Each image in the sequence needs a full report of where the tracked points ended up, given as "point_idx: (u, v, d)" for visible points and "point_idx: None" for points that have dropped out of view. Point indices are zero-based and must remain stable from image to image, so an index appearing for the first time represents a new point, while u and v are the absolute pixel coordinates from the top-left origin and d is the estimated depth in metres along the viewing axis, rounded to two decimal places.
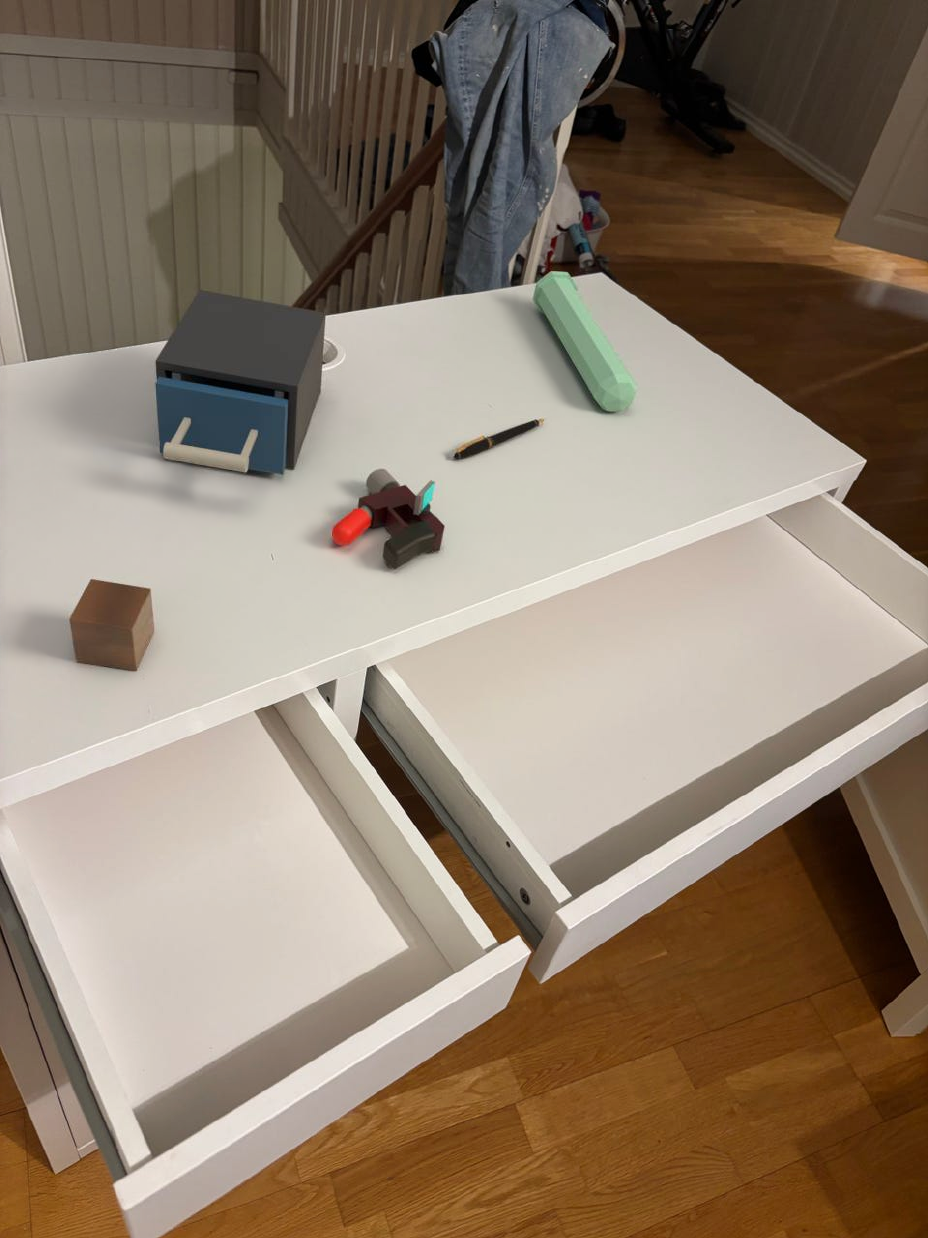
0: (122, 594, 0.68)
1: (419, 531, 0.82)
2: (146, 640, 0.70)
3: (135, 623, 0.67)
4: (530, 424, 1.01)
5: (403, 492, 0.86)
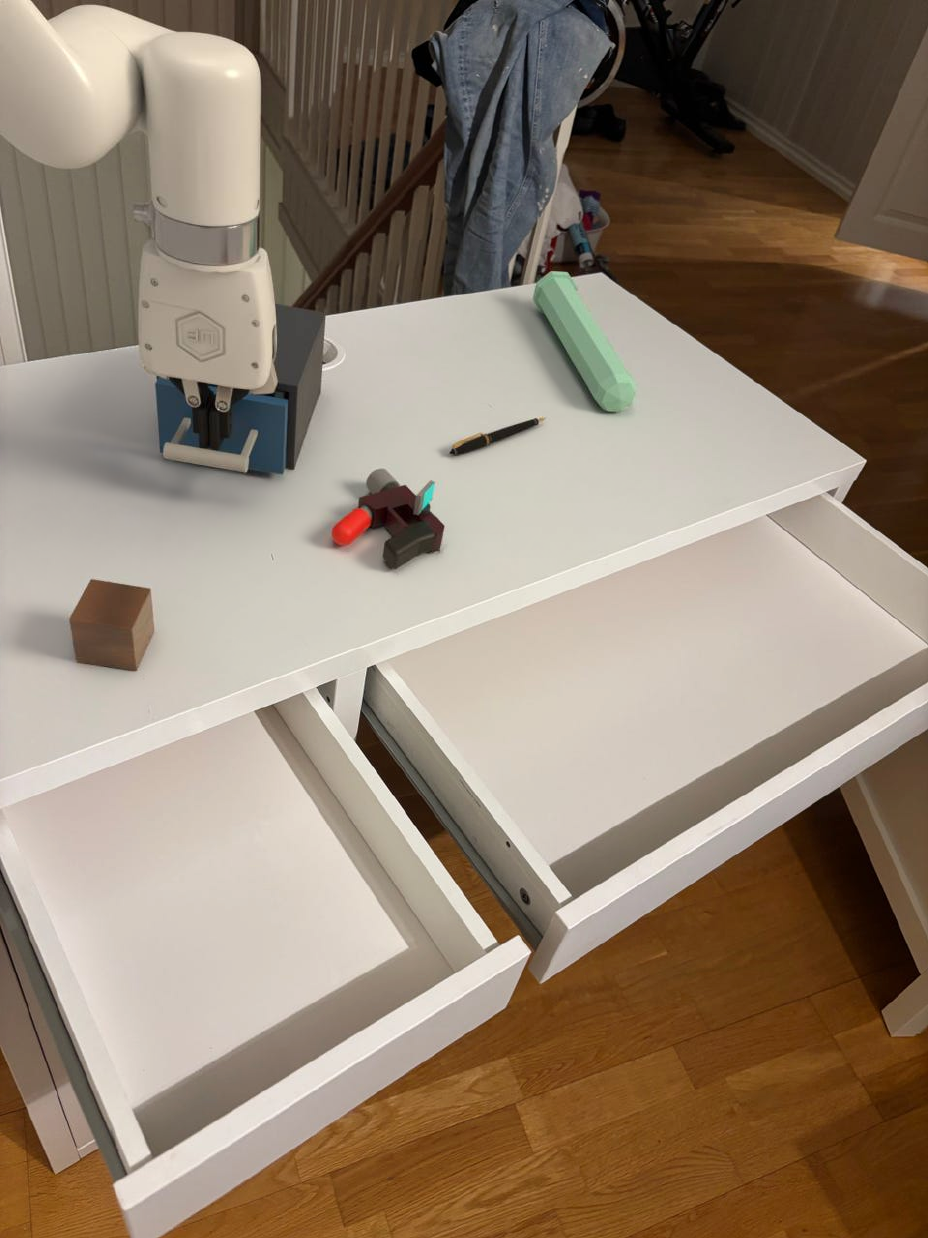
0: (122, 594, 0.68)
1: (419, 531, 0.82)
2: (146, 640, 0.70)
3: (135, 623, 0.67)
4: (530, 422, 1.01)
5: (403, 492, 0.86)
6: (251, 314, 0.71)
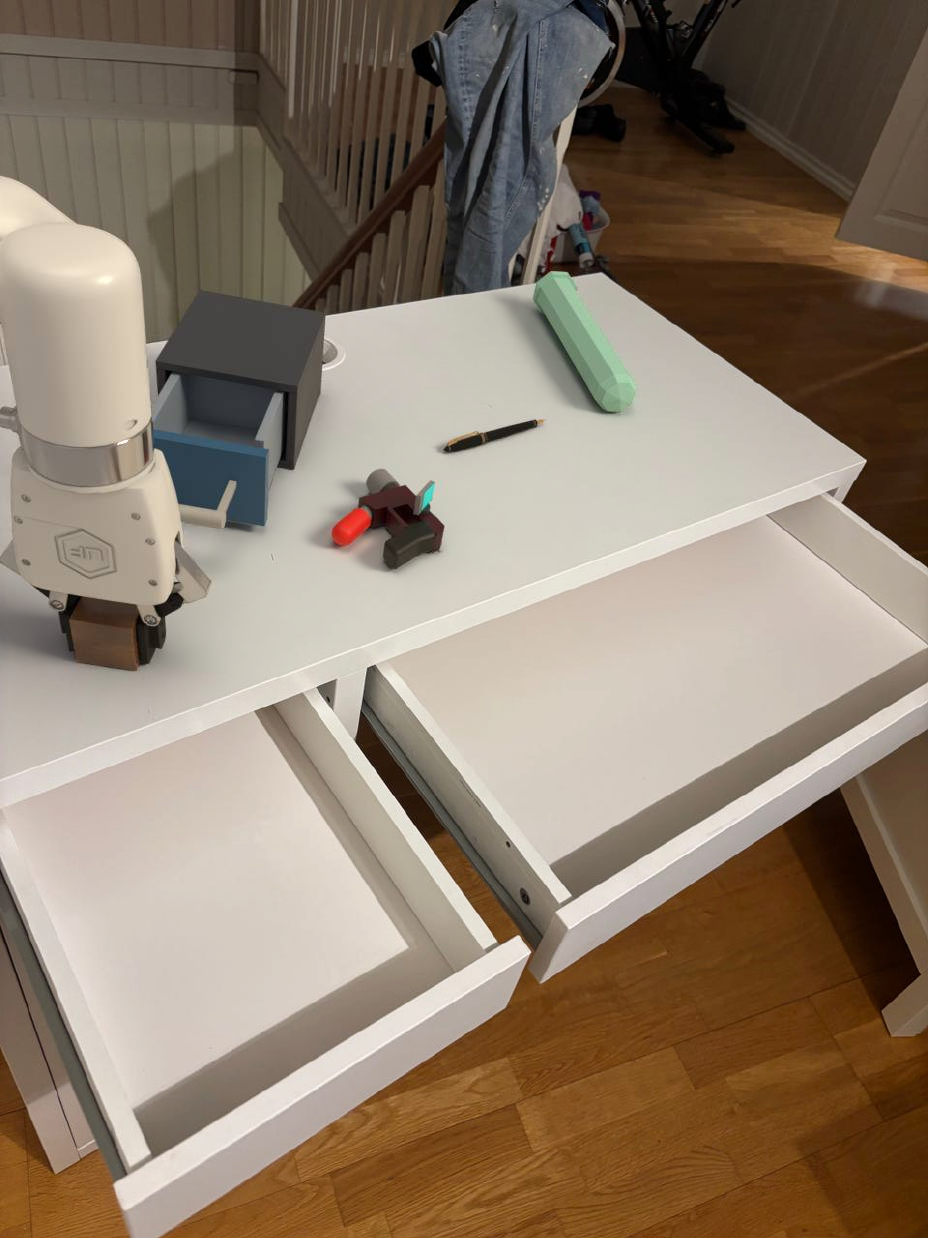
0: None
1: (419, 531, 0.82)
2: None
3: (135, 623, 0.67)
4: (528, 423, 1.01)
5: (403, 492, 0.86)
6: (144, 532, 0.59)
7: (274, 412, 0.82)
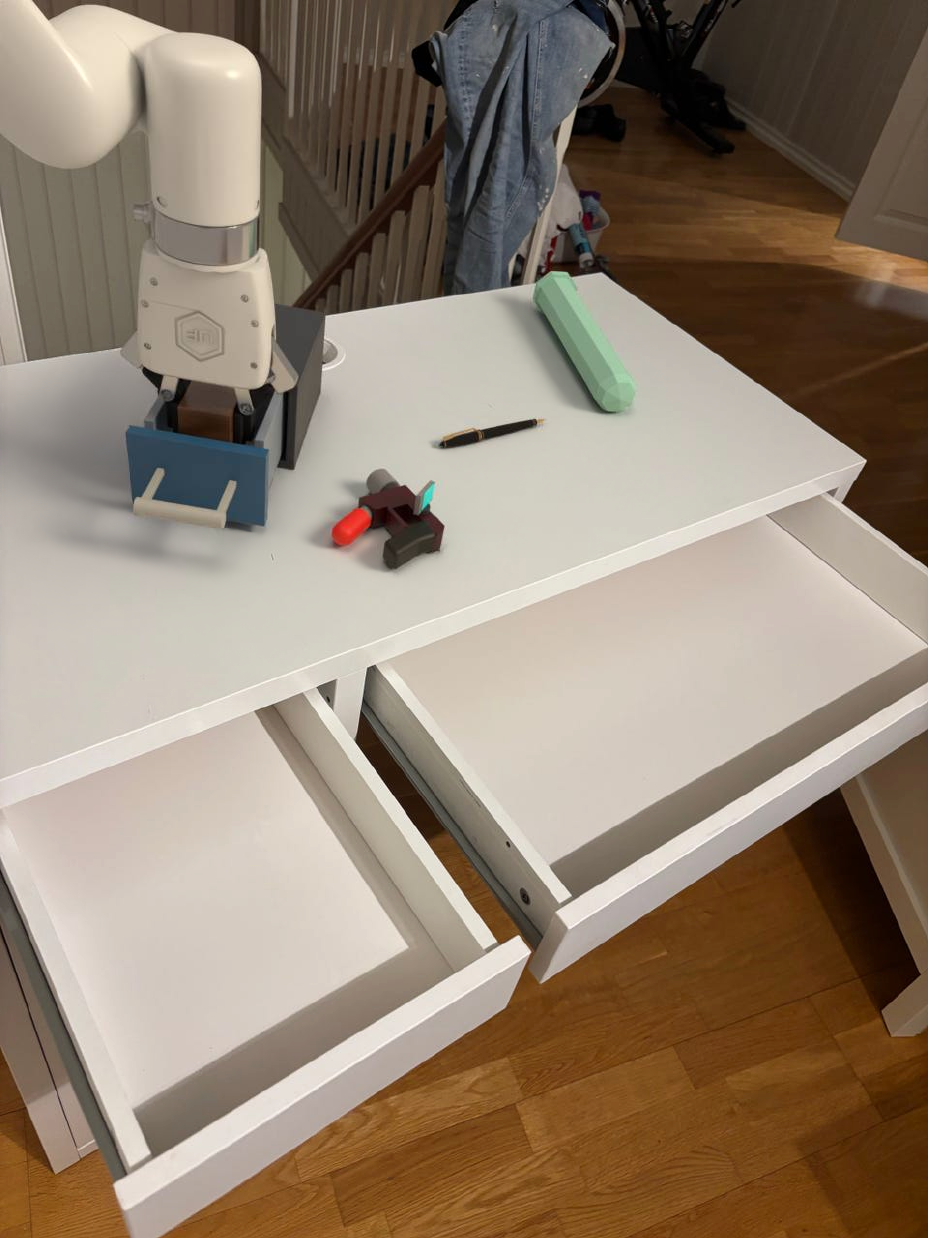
0: (219, 391, 0.80)
1: (419, 531, 0.82)
2: None
3: (233, 412, 0.78)
4: (527, 422, 1.01)
5: (403, 492, 0.86)
6: (250, 314, 0.71)
7: (274, 412, 0.82)
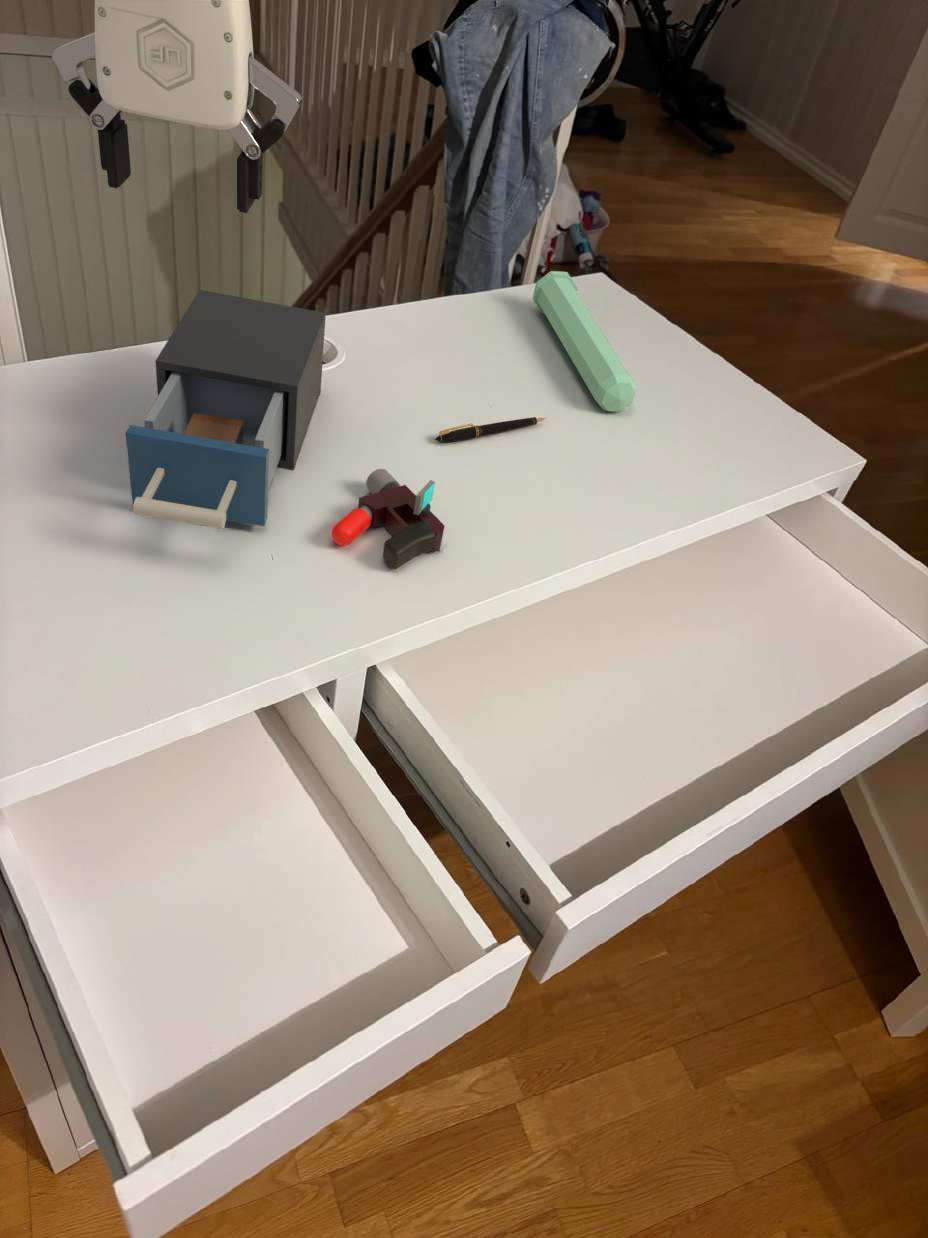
0: (221, 424, 0.82)
1: (419, 531, 0.82)
2: None
3: None
4: (527, 420, 1.01)
5: (403, 492, 0.86)
6: (223, 24, 0.62)
7: (274, 412, 0.82)
